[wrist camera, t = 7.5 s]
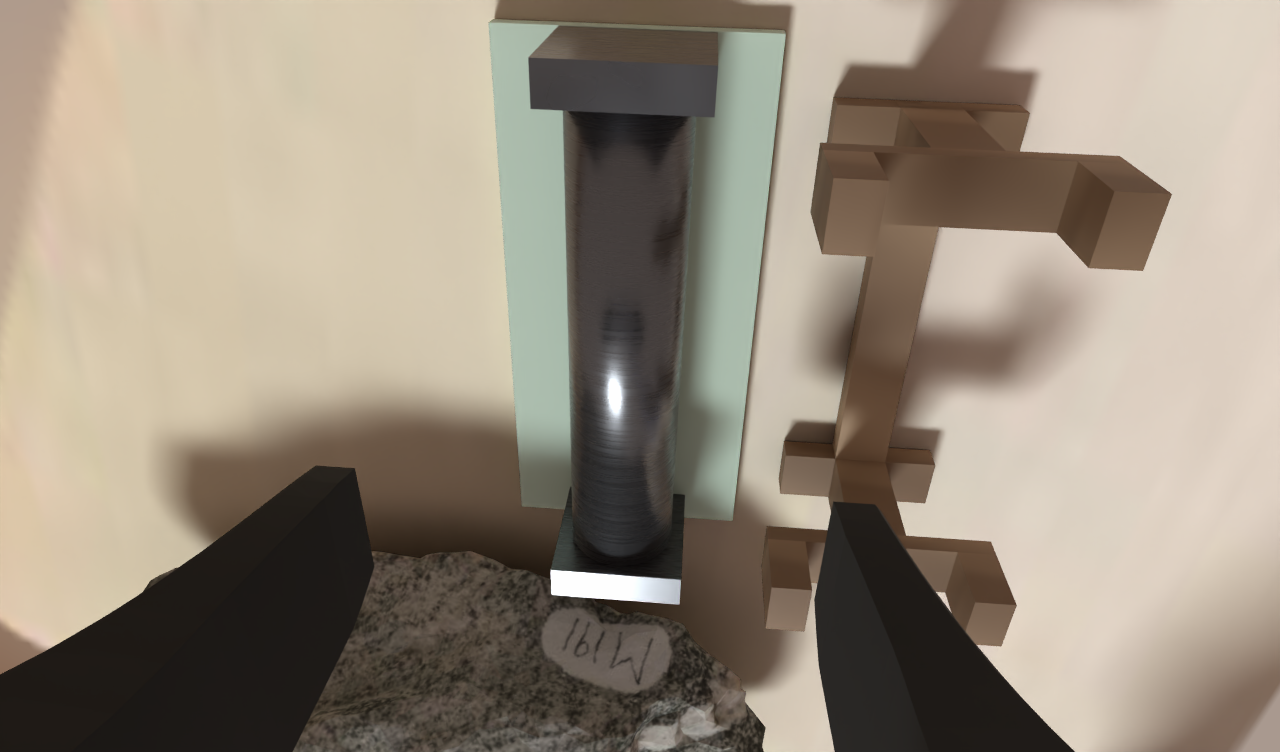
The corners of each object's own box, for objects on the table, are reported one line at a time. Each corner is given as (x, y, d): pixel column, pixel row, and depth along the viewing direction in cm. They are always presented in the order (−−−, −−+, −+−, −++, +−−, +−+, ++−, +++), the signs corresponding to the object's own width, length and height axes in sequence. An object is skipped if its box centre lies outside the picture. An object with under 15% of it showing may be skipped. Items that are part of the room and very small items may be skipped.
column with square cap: (683, 517, 22) (679, 604, 19) (570, 510, 22) (551, 594, 19) (717, 32, 15) (718, 65, 13) (558, 25, 16) (528, 57, 13)
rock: (793, 568, 20) (785, 1070, 17) (757, 591, 29) (748, 919, 26) (71, 517, 21) (-58, 977, 18) (256, 555, 30) (191, 864, 27)
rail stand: (943, 489, 21) (1001, 646, 17) (755, 476, 21) (765, 628, 17) (1051, 106, 16) (1171, 194, 12) (802, 95, 16) (833, 177, 12)
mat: (732, 510, 22) (732, 520, 22) (524, 496, 22) (521, 506, 22) (784, 29, 16) (785, 33, 15) (493, 19, 16) (488, 22, 16)
